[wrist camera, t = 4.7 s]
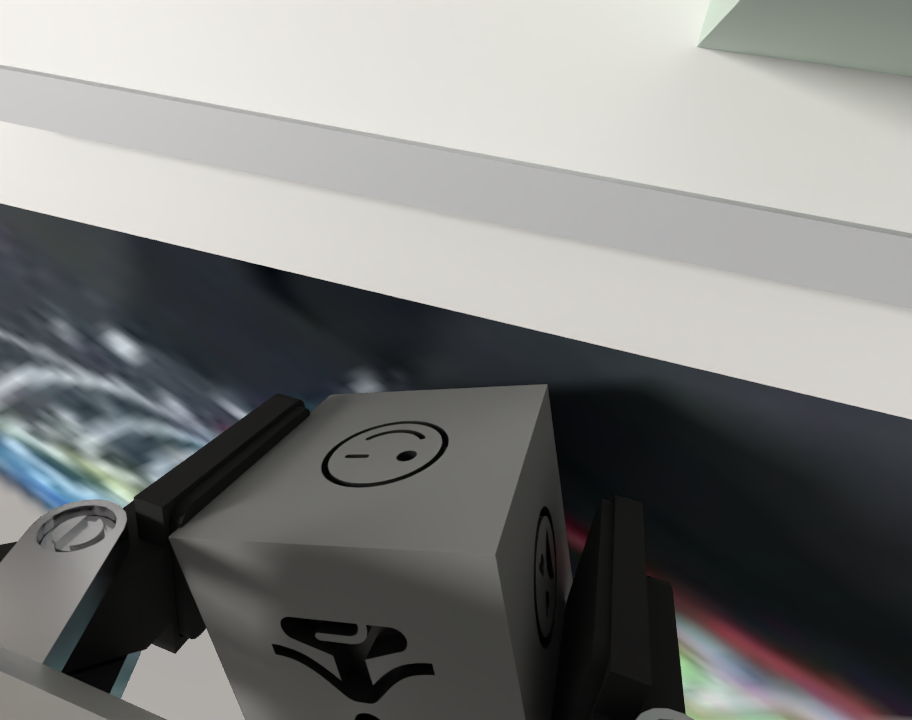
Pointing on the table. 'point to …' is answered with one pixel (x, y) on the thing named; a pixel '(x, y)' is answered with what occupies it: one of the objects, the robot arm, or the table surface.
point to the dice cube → (391, 561)
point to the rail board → (508, 161)
